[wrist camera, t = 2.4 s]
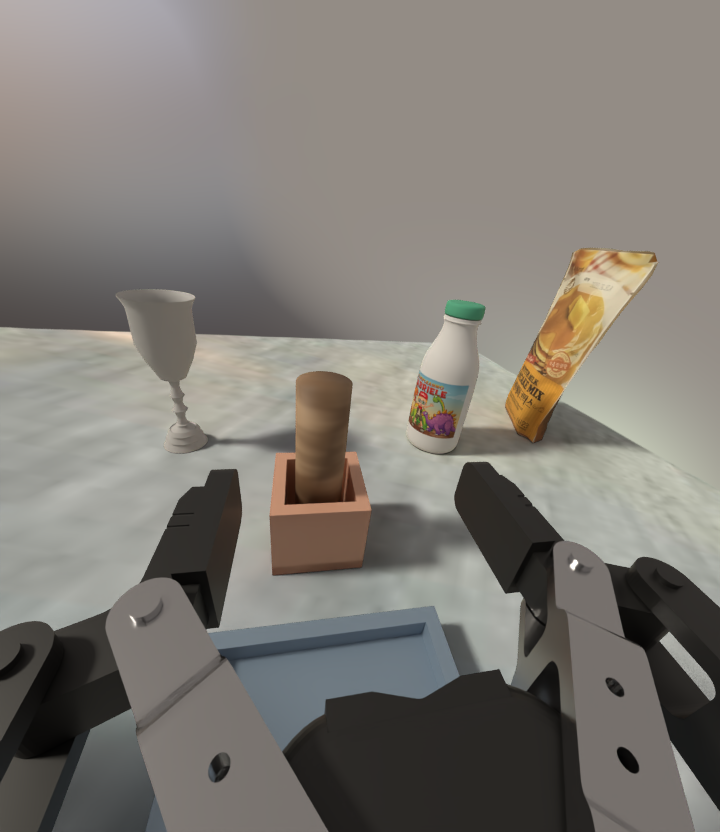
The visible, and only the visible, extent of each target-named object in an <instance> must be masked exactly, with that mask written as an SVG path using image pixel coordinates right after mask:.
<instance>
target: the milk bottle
mask: <svg viewBox="0 0 720 832" xmlns="http://www.w3.org/2000/svg"><path fill="white" fill-rule="evenodd" d="M484 313H485V306H483V305H481V304H478V303H474V302H469V301H461V300H449V301H448V302H447V305H446V309H445V315H444V317H443V318H444V319H445V321H444V325H443V327H442V330H441V331H440V333H439V335H438V337H437V338H436V340H435V341H434V342H433V344H432V345H431V346H430V348H429V349H428V351H427V352H426V354H425V356H424V358H423V361H422V364H421V367H420V371H419V375H418V379H417V384H416V388H415V393H414V397H413V402H412V406H411V411H410V416H409V421H408V425H407V431H406V435H407V438H408V440H409V441H410V443H411V444H413V445H414V446H415V447H417V448H419V449H421V450H423V451H426V452H430V453H436V454H443V453H448V452H450V451H452V450H453V449H454V448H455V447H456V446H457V443H458V440H459V437H460V434H461V431H462V428H463V425H464V421H465V418H466V415H467V412H468V409H469V405H470V402H471V399H472V396H473V392H474V389H475V385H476V381H477V378H478V372H479V356H478V350H477V329H478V326H479V325H481V320H482V318H483V316H484Z"/></svg>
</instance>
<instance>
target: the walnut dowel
mask: <svg viewBox="0 0 720 832" xmlns="http://www.w3.org/2000/svg"><path fill="white" fill-rule="evenodd" d="M352 385H353V384H352V381H351V380H350V379H349V378H347V377H345V376H343V375H341V374H337V373H333V372H325V371H316V372H308V373H305V374H302V375H300V376H299V377H298V378H297V379H296V460H295V504H315V503H336V502H340V501H341V492H342V482H343V472H344V462H345V453H346V443H347V433H348V423H349V414H350V404H351V394H352Z"/></svg>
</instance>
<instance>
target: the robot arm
mask: <svg viewBox="0 0 720 832" xmlns="http://www.w3.org/2000/svg"><path fill="white" fill-rule="evenodd" d="M454 500H455V506H456V509H457V511H458V513H459V514H460V516H461V518H462V520H463V521H464V523H465V525H466V526H467V528H468V530H469V532H470V533H471V535H472V537H473V539H474V540H475V542H476V544H477V545H478V547H479V549H480V551H481V552H482V554H483V556H484V558H485V559H486V561H487V563H488V564H489V566H490V568H491V570H492V571H493V573H494V575H495V576H496V578H497V580H498V582H499V583H500V585H501V587H502V589H503V590H504V592H505V594H507V593H515V592H520V593H521V594H522V596H523V597H524V598H523V600H522V602H521V606H520V623H519V641H518V659H517V666H516V671H515V674H514V676H513V680H512V683H511V685H508V684H506V683H505V681H504V679H503V676H502V674H501V672H500V670H499V669H497V670H492V671H486V672H480V673H475V674H469V675H463V676H459V677H458V678H456V679H454V680H453V681H451V682H449V683H448V684H446V685H444V686H443V687H441V688H439V689H438V690H436V691H434V692H433V693H431V694H429V695H428V696H426V697H424V698H421V699H416V698H410V697H404V696H397V695H391V694H385V693H379V692H373V691H371V692H366V693H360V694H354V695H348V696H343V697H337V698H331V699H326V701H325V712H324V714H323V715H322V716H320V717H318V718H316V719H315V720H313V721H312V722H310V723H309V724H308V725H307V726H305V727H304V728H303V729H302V730H301V731H300V732H299V733H298V734H297V735H296V736H295V737H294V738H293V739H292V740H291V741H290V742H289V743H288V745H287V746H286V747H285V748H284V750H283V751H281V749H280V748H279V746H278V744H277V742H276V741H275V739H274V737H273V736H272V734H271V732H270V730H269V729H268V727H267V725H266V724H265V722H264V720H263V718H262V717H261V715H260V713H259V712H258V710H257V708H256V706H255V705H254V703H253V701H252V700H251V698H250V696H249V694H248V693H247V691H246V689H245V688H244V686H243V684H242V682H241V681H240V679H239V677H238V675H237V674H236V672H235V670H234V669H233V667H232V665H231V664H230V662H229V661H228V660H227V658H226V657H225V656H221V654H220V653H219V652H218V650H217V648H216V647H215V645H214V643H213V641H212V640H211V638H210V636H209V634H208V633H207V631H206V629H210V628H218V627H219V625H220V621H221V616H222V611H223V606H224V601H225V597H226V592H227V587H228V582H229V577H230V572H231V568H232V563H233V558H234V553H235V548H236V544H237V539H238V534H239V529H240V524H241V517H242V502H241V494H240V486H239V478H238V472H237V469H221V470H211V471H210V473H209V476H208V478H207V481H206V483H205V486H204V487H192V488H191V489H190V490H189V491H187V492H186V493H185V494H184V495H183V496H182V497H181V498H180V499H179V501H178V503H177V505H176V507H175V510H174V512H173V516H172V517H171V518H170V520H169V523H168V525H167V529H165V531H164V533H163V535H162V538H161V540H160V542H159V544H158V546H157V548H156V551H155V553H154V555H153V557H152V559H151V561H150V564H149V566H148V568H147V570H146V572H145V574H144V576H143V578H142V580H141V582H140V583H139V584H138V585H136V586H134V587H133V588H131V589H130V590H128V591H127V592H126V593H125V594H123V595H122V596H121V597H120V598H119V599H118V601H117V602H116V603H115V604H114V606H113V607H112V608H111V609H109V610H107V611H106V612H104V613H101V614H99V615H96V616H94V617H91V618H88V619H86V620H83V621H80V622H78V623H75V624H72V625H70V626H67V627H64V628H62V629H59V630H56V631H53V630H52V628H51V627H50V626H49V625H48V624H46V623H43V622H38V621H32V622H25V623H20V624H17V625H14V626H11V627H9V628H7V629H4V630H2V631H0V832H52V829H53V827H54V824H55V821H56V819H57V816H58V813H59V811H60V808H61V805H62V803H63V800H64V798H65V795H66V792H67V790H68V787H69V784H70V782H71V779H72V776H73V774H74V771H75V769H76V766H77V763H78V761H79V758H80V755H81V753H82V750H83V747H84V745H85V742H86V739H87V737H88V734H89V732H90V729H91V728H93V727H95V726H97V725H99V724H101V723H103V722H105V721H107V720H109V719H111V718H113V717H115V716H117V715H119V714H121V713H123V712H125V711H127V710H129V709H131V708H132V711H133V714H134V717H135V721H136V725H137V728H136V735H137V739H138V743H139V746H140V750H141V753H142V756H143V759H144V762H145V765H146V768H147V771H148V774H149V777H150V780H151V784H152V787H153V790H154V793H155V796H156V799H157V802H158V805H159V808H160V811H161V814H162V817H163V820H164V823H165V827H166V830H167V832H695V829H694V826H693V822H692V819H691V815H690V811H689V808H688V804H687V800H686V797H685V793H684V789H683V786H682V782H681V778H680V775H679V771H678V768H677V764H676V760H675V757H674V753H673V749H672V746H671V742H672V743H673V745H674V746H675V748H676V749H677V751H678V752H679V753H680V755H681V756H682V758H683V759H684V761H685V762H686V764H687V765H688V766H689V768H690V769H691V771H692V772H693V774H694V775H695V776H696V778H697V779H698V781H699V782H700V784H701V785H702V786H703V788H704V789H705V791H706V792H707V794H708V795H709V796H710V798H711V799H712V801H713V802H714V804H715V805H716V806H717V808H718V809H719V811H720V607H719V606H718V605H716V604H715V603H714V602H713V601H712V600H711V599H710V598H709V597H708V596H707V595H706V594H705V593H703V592H702V591H701V590H700V589H699V588H698V587H697V586H696V585H695V584H694V583H693V582H691V581H690V580H689V579H688V578H687V577H686V576H685V575H684V574H682V573H681V572H680V571H678V570H677V569H675V568H674V567H672V566H670V565H668V564H666V563H664V562H662V561H660V560H657V559H654V558H649V557H641V558H638V559H637V560H636V561H635V562H634V564H633V565H632V566H631V567H630V568H627V567H622V566H617V565H612V564H607V563H604V562H603V561H602V560H601V559H600V558H599V557H598V556H597V555H596V554H595V553H593V552H592V551H591V550H589V549H588V548H586V547H584V546H582V545H580V544H577V543H574V542H570V541H564V540H563V538H562V537H561V536H560V535H559V534H558V533H557V532H556V531H555V529H554V528H553V527H552V526H551V525H550V524H549V523H548V521H547V520H546V519H545V518H544V517H543V516H542V515H541V513H540V512H539V511H538V510H537V509H536V508H535V507H533V506H532V503H531V502H530V501H529V500H528V499H527V497H524V494H523V493H522V492H521V491H520V489H519V488H518V487H517V486H516V485H515V484H514V483H512V482H511V481H510V480H508V479H507V478H505V477H504V476H502V475H499V474H498V473H497V471H496V470H495V469H494V468H493V467H492V466H491V464H490V463H488V462H467V463H466V464H465V465H464V467H463V469H462V473H461V476H460V479H459V482H458V485H457V488H456V491H455V496H454ZM669 631H670V633H671V634H672V635H673V636H674V637H675V638H676V639H677V640H678V642H679V643H680V644H681V645H682V646H683V647H684V648H685V649H686V651H687V652H688V653H689V654H690V655H691V656H692V657H693V658H694V659H695V661H696V662H697V663H698V664H699V665H700V666H701V667H702V668H703V670H704V671H705V672H706V673H707V674H708V676H709V677H710V678H711V680H712V682H713V684H714V687H715V691H716V695H715V698H714V699H713V700H711V701H709V699H708V698H707V697H706V696H705V695H704V694H703V692H702V691H701V690H700V689H699V688H698V686H697V685H696V684H695V683H694V682H693V680H692V679H691V678H690V677H689V676H688V675H687V673H686V672H685V671H684V670H683V669H682V667H681V666H680V665H679V664H678V663H677V662H676V660H675V659H674V658H673V657H672V656H671V654H670V653H669V652H668V651H667V650H666V649H665V647H664V646H663V645H662V644H661V643H660V640H661V639H662V638H663V637H664V636H665V635H666V634H667V633H668V632H669ZM670 741H671V742H670Z"/></svg>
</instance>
